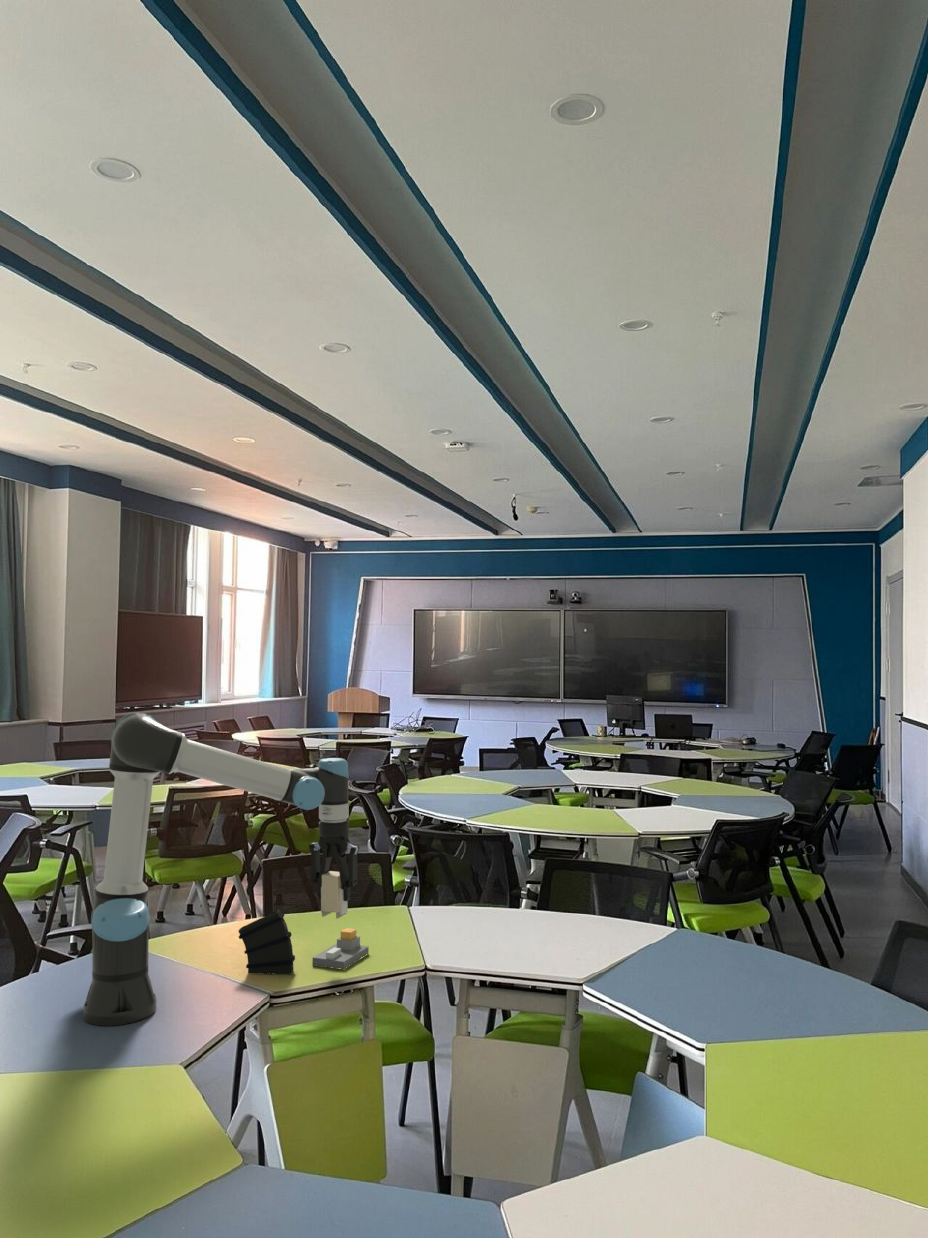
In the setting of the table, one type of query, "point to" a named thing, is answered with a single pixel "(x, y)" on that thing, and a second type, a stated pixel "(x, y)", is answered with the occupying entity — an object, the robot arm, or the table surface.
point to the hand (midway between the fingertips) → (334, 912)
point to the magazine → (268, 945)
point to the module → (331, 893)
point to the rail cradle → (341, 954)
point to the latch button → (348, 934)
